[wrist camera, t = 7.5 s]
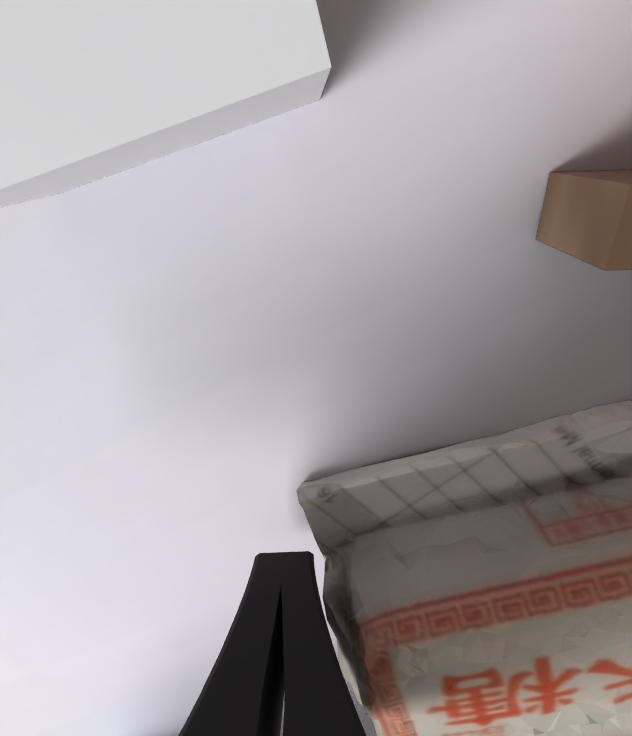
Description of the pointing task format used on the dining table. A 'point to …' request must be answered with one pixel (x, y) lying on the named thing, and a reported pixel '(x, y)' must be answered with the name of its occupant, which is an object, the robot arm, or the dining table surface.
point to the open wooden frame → (590, 217)
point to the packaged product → (487, 581)
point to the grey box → (142, 81)
